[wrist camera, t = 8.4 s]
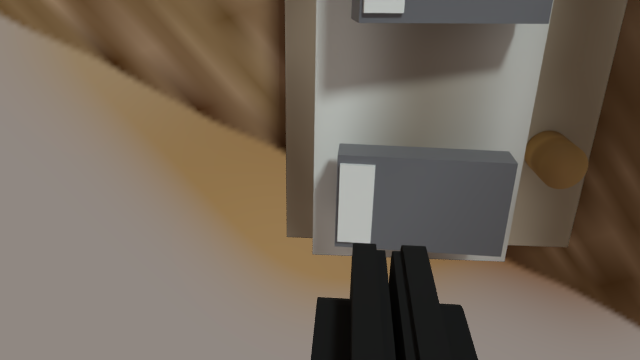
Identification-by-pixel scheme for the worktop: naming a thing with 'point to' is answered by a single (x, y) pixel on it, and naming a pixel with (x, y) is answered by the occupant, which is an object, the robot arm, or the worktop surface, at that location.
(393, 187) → the block
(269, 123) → the worktop surface
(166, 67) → the worktop surface
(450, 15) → the rocker
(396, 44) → the switch unit
